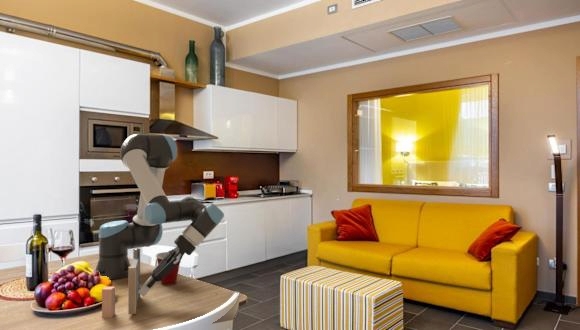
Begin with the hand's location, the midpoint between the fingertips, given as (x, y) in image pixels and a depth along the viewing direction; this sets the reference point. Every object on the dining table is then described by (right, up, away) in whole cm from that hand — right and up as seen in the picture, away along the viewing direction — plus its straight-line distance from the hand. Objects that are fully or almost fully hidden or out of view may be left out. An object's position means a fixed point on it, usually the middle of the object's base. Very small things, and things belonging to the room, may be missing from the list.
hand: (140, 293), depth 137 cm
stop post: (-8, -5, -6) cm, 11 cm away
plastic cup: (+1, -5, +28) cm, 29 cm away
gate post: (-5, -5, +11) cm, 13 cm away
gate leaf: (-2, -4, +1) cm, 5 cm away
